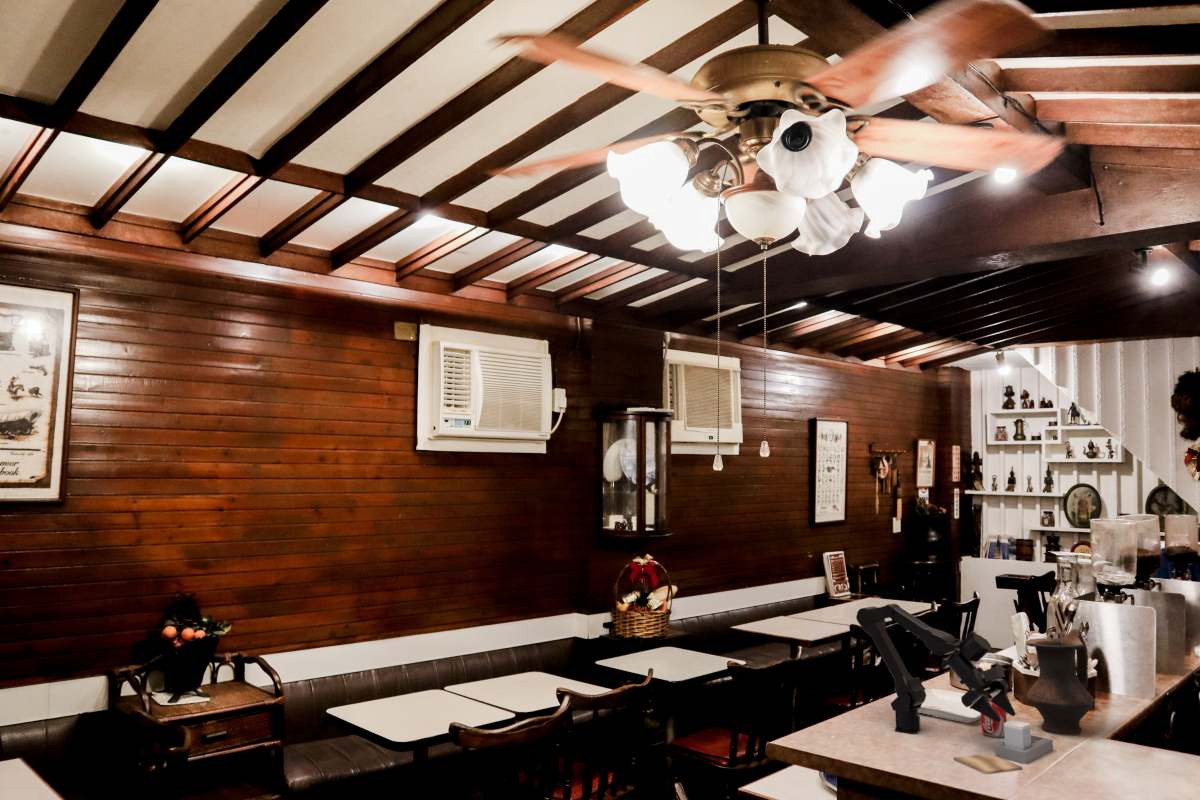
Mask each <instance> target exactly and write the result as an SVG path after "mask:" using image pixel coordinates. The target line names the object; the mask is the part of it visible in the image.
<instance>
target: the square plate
mask: <svg viewBox="0 0 1200 800" xmlns="http://www.w3.org/2000/svg"><path fill="white" fill-rule="evenodd" d="M924 691H925V693H926V698H925V701H924V702H923V703H922V705H921V708H920V709H918V714H920V713H923V714H922V715H924V714H929V715H934V716H938V717H937V718H939V717H942V718H941V719H943V718H946V719H945V720H948V719H951V720H950V721H953V720H955V721H954V722H958V721H960V722H959V723H967V724H969V723H974V722H976V721H978V720H981V713H980V712H978V711H976V710H973V709H970V706H969V707H965V706H964V704H963V703H962V702H961V697H962V696H963V695H964V694H965V693H966V692H958V691H953V690H945V689H940V688H928V689H926V690H924ZM931 704H932V705H931ZM923 706H935V707H936V708H941V709H935V708H929V707H923ZM937 706H938V707H937ZM971 706H972V705H971ZM929 715H928V716H929ZM934 716H933V717H934Z"/></svg>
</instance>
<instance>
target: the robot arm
mask: <svg viewBox="0 0 1200 800" xmlns="http://www.w3.org/2000/svg"><path fill="white" fill-rule="evenodd" d="M855 617H856V621H857V623H858V624H859V626H860V627H861V628H862V629H863V631H864V632H865V633H867V634H868V635H869V636H870V637H871V638H872V640H873V642H874V643H875V644H874V645H876V647H877V649H878V651H879V653H880V655H881V657H882V659H883V661H884V663H885V665H886V667H887V669H888V670H889V672H890V674H891V676H892V677H893V680H894V686H895V687H894V688H895V689H894V690H895V693H896V696H897V697H896V698H895V699H894V700H892V702H890V706H891V709H892V711H894V712H895V728H894V731H895V732H899V731H902V732H901V733H907V732H909V734H915V733H917V734H918V732H920V730H921V715H920V714H919V713H918V709H920V708H921V705H922V703H923V702H924V701H925V698H926V693H925V691H924V690H927V689H926V687H924V685H923V683H922V681H921V679H920V677H919V676H917V677H913V676H912V675H911V674H910V673H909V671H908V670H907V669H908V668H906V666H905V663H904V662H903V660H902V658H901V656H900V654H899V652H898V650H897V649H896V647H895V645H894V643H893V642H892V640H891V638H890V636H889V633H888V631H887V625H886V624H887V623H886V619H889V618H890V619H891V620H893V622H896V623H897V624H899V626H902V627H903V628H904V629H906V630H908V631H909V632H910V633H912V634H913V635H914V636H916V637H918V638H919V639H920V640H921V641H923V643H924V645H925V646H926V647H927V648H928V649H929V650H930V652H932V653H933V654H935V655H937V656H940V657H942V656H945V655H949V654H950V655H949V656H948V657H945V658H944V657H943V658H942V659H941V669H942V670H944V669H947V668H950V669H951V670H952V671H953V672H954V673H955V675H956V676H957V678H959V679H960V680H959V682H958V683H959V684H960V685H965V686H966V687H967V689H968V690H967V692H964V693H965V694H964V695H963V696H962V697H961V702H962V703H963V704H964V706H965V707H969V706H970V709H973V710H976V711H978V712H980V713H982V714H984V715H986V716H987V717H989V718H991V719H993V720H995V721H997V722H1000V721H1001V719H1000V717H999V716H998V714H997V713H996V711H995V710H994V709H993V707H992V706H991V704H990V703H989V701H988V697H989V698H990V699H991V698H992V699H991V700H990V701H992V702H993V703H994V704H996V705H997V706H999V707H1000V708H1001V709H1003V710H1004V711H1006V714H1008V715H1010V716H1012V717H1015V716H1016V715H1017V714H1016V712H1015V709H1014V708H1013V705H1012V702H1011V701H1010V699H1009V696H1008V690H1009V685H1010V684H1009V683H1008V682H1007V680H1005V679H1004V678H1005V677H1006V674H1005V671H1006V669H1005V668H1004V667H1003V666H1002V665H1000V663H999V662H997V663H994V664H991V665H990V668H989V669H986V670H984V669H983V668H982V667H977V666H976V665H975V664H974V663H973V662H975V663H978V662H979V661H980V660H981V659H982V658H983V657H985V656H986V654H988V652H990V651H991V650H992V645H991V643H989V641H988V639H986V638H984V637H983V636H982V635H979V634H978V633H976V631H970V632H968V634H967V635H966V637H965V638H964V639H963V640H962V639H961V640H960V639H957V638H955V636H953V635H952V634H950V633H948V632H946V631H943V630H940V629H937V628H933V627H932V626H929V625H928V624H927V623H925V622H923V621H922V620H921V619H919V618H918V617H916V616H915V615H914V614H911V613H910V612H908V611H906V610H905V609H904V608H902V607H901V606H900V605H899V604H897V603H889V604H885V605H883V606H879V607H878V606H875V605H874V606H873V605H872V606H867V607H862V608H860V609H859V610H858V611H857V613H856V616H855ZM958 650H959V651H958ZM955 651H957V652H955ZM971 705H972V706H971Z"/></svg>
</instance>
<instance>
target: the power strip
mask: <svg viewBox="0 0 1200 800" xmlns="http://www.w3.org/2000/svg"><path fill="white" fill-rule="evenodd" d="M1053 745H1054V744H1053V739H1051V738H1046V737H1042V736H1037V735H1033V734H1031V747H1030V748H1028V749H1026V750H1021V749H1016V748H1012V747H1008V746H1005V741H1003V742H1000V743H998V744H996V745H995V747H994V748H995V756H997V757H999V758H1001V759H1004V760H1006V761H1009V762H1013V763H1019V764H1023V765H1027V764H1030V763H1031V762H1033V761H1035V760H1037V759H1039V758H1041V757H1042V756H1045V755H1048V754H1049V753H1052V752H1053V751H1054V749H1053V748H1054V747H1053Z"/></svg>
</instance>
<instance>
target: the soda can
mask: <svg viewBox="0 0 1200 800" xmlns="http://www.w3.org/2000/svg"><path fill="white" fill-rule="evenodd" d="M991 699H992V698H991ZM991 699H990V698H989V697H988V701H989V703H990V704H991V706H992V707H993V709H994V710H995V711H996V713H997V714H998V716H999V717H1000V719H1001V721H1000V722H997V721H995V720H993V719H991V718H989V717H987V716H986V715H984V714H982V713H981V718H980V726H981V733H982V734H984V735H985V734H986V735H985V736H987V735H988V737H991V738H1003V737H1004V723H1006V722H1007V712H1006V711H1004V710H1003V709H1001V708H1000V707H999V706H997V705H996V704H994V703H993V702H992V701H990V700H991Z"/></svg>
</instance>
